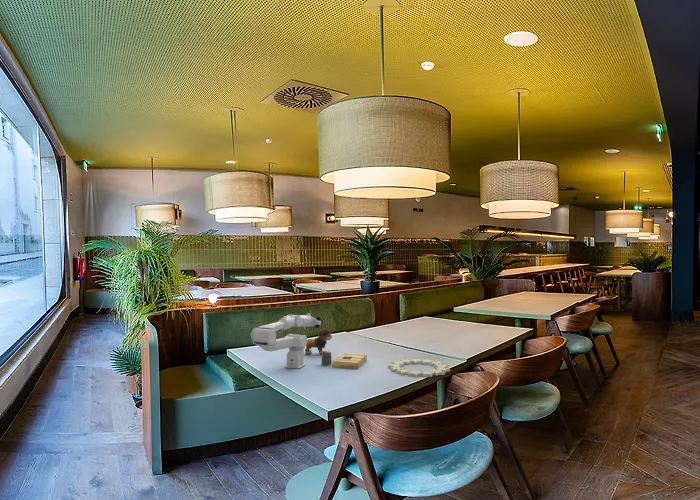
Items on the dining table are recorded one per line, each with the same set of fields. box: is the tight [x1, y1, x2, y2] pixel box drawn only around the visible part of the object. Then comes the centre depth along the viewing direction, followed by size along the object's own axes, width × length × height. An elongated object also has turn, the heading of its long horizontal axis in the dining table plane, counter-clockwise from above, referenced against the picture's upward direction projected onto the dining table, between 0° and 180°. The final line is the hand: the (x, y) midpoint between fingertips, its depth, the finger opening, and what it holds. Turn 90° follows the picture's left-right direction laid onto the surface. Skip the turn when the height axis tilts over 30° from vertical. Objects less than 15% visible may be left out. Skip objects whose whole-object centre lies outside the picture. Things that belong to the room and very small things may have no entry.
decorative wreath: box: [387, 358, 451, 378], centre depth 217 cm, size 30×2×30 cm
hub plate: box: [332, 352, 368, 370], centre depth 228 cm, size 18×13×3 cm
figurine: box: [304, 327, 334, 356], centre depth 249 cm, size 7×22×15 cm, turn 78°
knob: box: [321, 349, 333, 366], centre depth 226 cm, size 5×5×7 cm
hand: (316, 321), depth 242 cm, fingers open, 7 cm apart
